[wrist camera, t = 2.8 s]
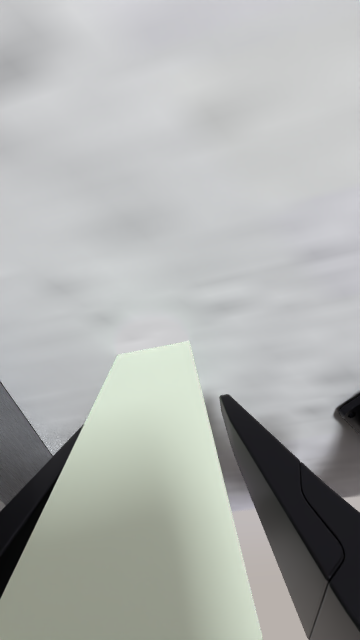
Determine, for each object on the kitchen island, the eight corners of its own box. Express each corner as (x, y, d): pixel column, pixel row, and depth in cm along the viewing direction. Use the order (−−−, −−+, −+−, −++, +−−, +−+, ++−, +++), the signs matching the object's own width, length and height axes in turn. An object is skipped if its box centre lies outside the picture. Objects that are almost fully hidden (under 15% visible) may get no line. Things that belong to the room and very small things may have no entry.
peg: (189, 340, 10) (262, 639, 2) (199, 396, 11) (264, 687, 4) (117, 354, 10) (-47, 697, 2) (137, 408, 11) (76, 723, 4)
